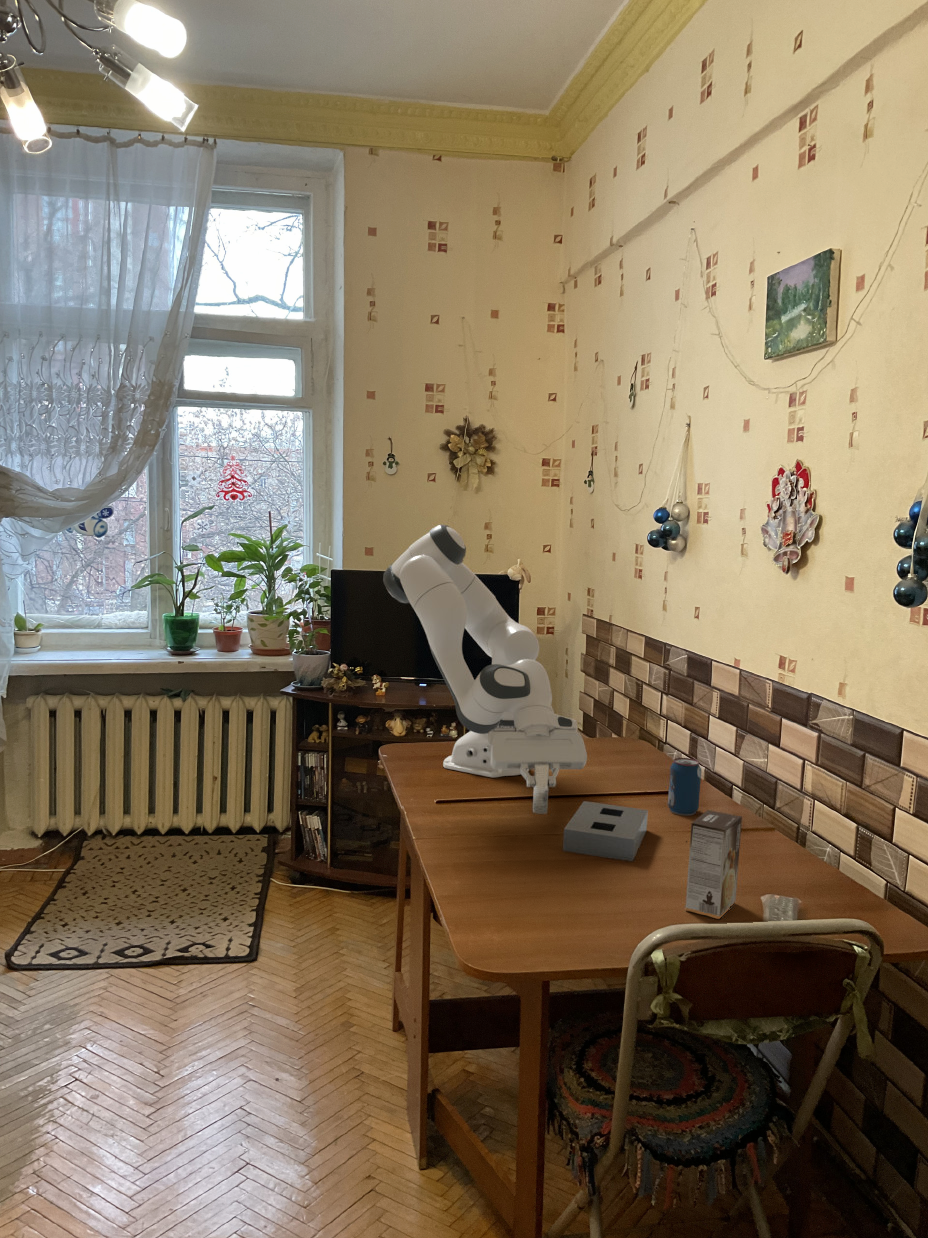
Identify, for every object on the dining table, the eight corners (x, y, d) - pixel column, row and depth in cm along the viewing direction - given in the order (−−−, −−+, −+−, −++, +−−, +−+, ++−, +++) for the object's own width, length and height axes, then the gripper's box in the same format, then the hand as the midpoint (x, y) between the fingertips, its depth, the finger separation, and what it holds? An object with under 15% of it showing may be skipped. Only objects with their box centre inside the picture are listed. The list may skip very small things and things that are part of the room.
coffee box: (701, 894, 171) (707, 808, 169) (736, 903, 168) (743, 816, 166) (684, 911, 163) (690, 821, 162) (720, 921, 160) (727, 829, 158)
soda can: (703, 812, 219) (707, 761, 217) (688, 818, 214) (692, 766, 212) (677, 804, 224) (680, 755, 222) (661, 811, 218) (665, 760, 217)
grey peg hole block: (562, 850, 190) (564, 829, 190) (582, 820, 209) (583, 801, 208) (632, 861, 186) (634, 839, 185) (646, 830, 205) (647, 810, 204)
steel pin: (531, 812, 195) (533, 765, 194) (534, 808, 198) (536, 762, 197) (545, 814, 195) (547, 767, 193) (548, 810, 197) (550, 763, 196)
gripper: (489, 720, 200) (493, 778, 192) (583, 720, 202) (592, 778, 194) (485, 735, 205) (489, 793, 197) (578, 735, 207) (586, 792, 199)
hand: (541, 785), depth 195 cm, fingers closed on steel pin, 3 cm apart
